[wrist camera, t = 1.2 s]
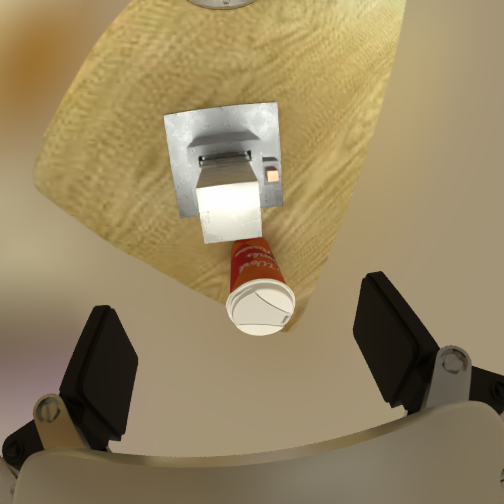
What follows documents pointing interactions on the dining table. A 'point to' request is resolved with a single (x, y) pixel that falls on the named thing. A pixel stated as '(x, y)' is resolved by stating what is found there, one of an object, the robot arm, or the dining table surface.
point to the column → (228, 198)
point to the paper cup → (257, 289)
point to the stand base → (225, 148)
